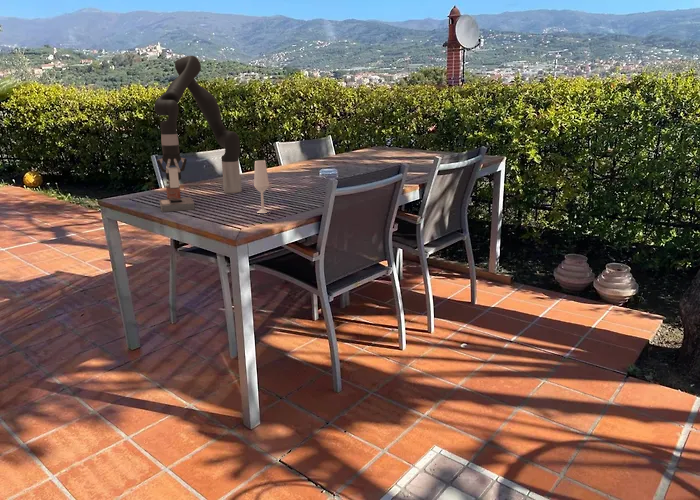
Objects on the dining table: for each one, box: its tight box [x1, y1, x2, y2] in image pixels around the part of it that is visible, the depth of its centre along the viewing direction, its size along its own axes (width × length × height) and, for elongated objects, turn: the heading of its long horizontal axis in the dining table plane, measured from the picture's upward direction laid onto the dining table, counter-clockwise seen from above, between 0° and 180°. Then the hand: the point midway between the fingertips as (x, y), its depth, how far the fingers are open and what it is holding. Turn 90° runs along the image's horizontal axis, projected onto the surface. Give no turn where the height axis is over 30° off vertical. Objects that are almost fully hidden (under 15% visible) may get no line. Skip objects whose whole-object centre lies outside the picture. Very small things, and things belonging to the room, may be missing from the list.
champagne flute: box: [253, 159, 270, 213], centre depth 233 cm, size 7×7×24 cm
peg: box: [169, 166, 180, 188], centre depth 243 cm, size 4×4×9 cm
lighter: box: [165, 180, 182, 199], centre depth 262 cm, size 8×3×10 cm, turn 71°
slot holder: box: [159, 196, 196, 213], centre depth 247 cm, size 15×15×3 cm
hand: (173, 180), depth 243 cm, fingers closed on peg, 4 cm apart
